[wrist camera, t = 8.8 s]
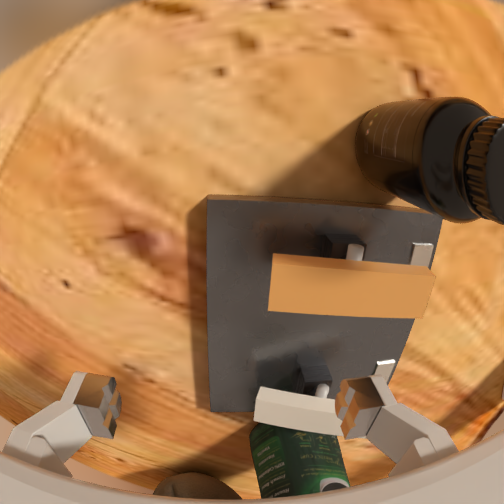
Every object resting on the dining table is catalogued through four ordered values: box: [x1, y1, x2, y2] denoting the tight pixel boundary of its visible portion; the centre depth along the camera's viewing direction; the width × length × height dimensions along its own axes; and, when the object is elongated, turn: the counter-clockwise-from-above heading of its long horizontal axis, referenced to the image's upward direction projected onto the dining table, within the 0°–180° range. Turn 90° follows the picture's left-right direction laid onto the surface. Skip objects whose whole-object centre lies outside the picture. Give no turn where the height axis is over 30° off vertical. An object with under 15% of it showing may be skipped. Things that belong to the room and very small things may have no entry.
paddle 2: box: [254, 384, 366, 438], centre depth 23 cm, size 10×4×2 cm, turn 86°
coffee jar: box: [249, 422, 350, 499], centre depth 22 cm, size 10×8×19 cm
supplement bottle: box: [355, 97, 504, 225], centre depth 15 cm, size 7×7×12 cm
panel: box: [207, 195, 443, 412], centre depth 23 cm, size 18×20×3 cm
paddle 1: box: [268, 244, 436, 319], centre depth 18 cm, size 10×4×2 cm, turn 87°
